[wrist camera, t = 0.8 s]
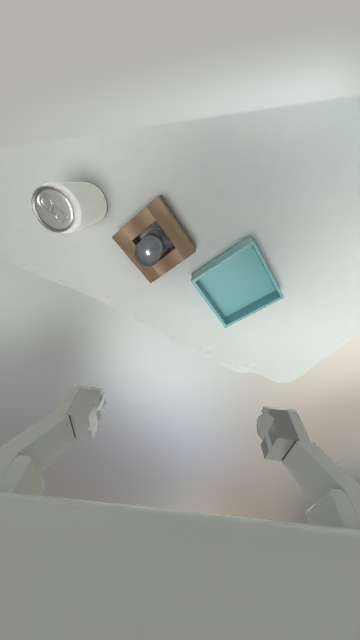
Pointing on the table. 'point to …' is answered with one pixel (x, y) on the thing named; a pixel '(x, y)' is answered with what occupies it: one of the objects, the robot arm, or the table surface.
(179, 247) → the pin block
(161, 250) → the pin
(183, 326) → the table surface
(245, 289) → the tray
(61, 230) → the can
